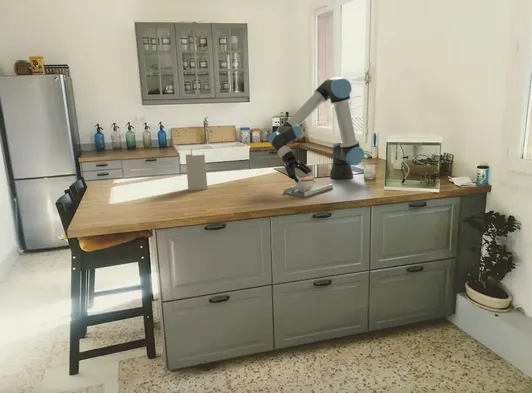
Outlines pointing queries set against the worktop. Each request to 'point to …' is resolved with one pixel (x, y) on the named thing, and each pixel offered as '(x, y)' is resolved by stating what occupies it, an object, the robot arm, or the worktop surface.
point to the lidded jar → (305, 183)
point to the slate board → (314, 190)
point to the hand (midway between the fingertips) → (308, 184)
